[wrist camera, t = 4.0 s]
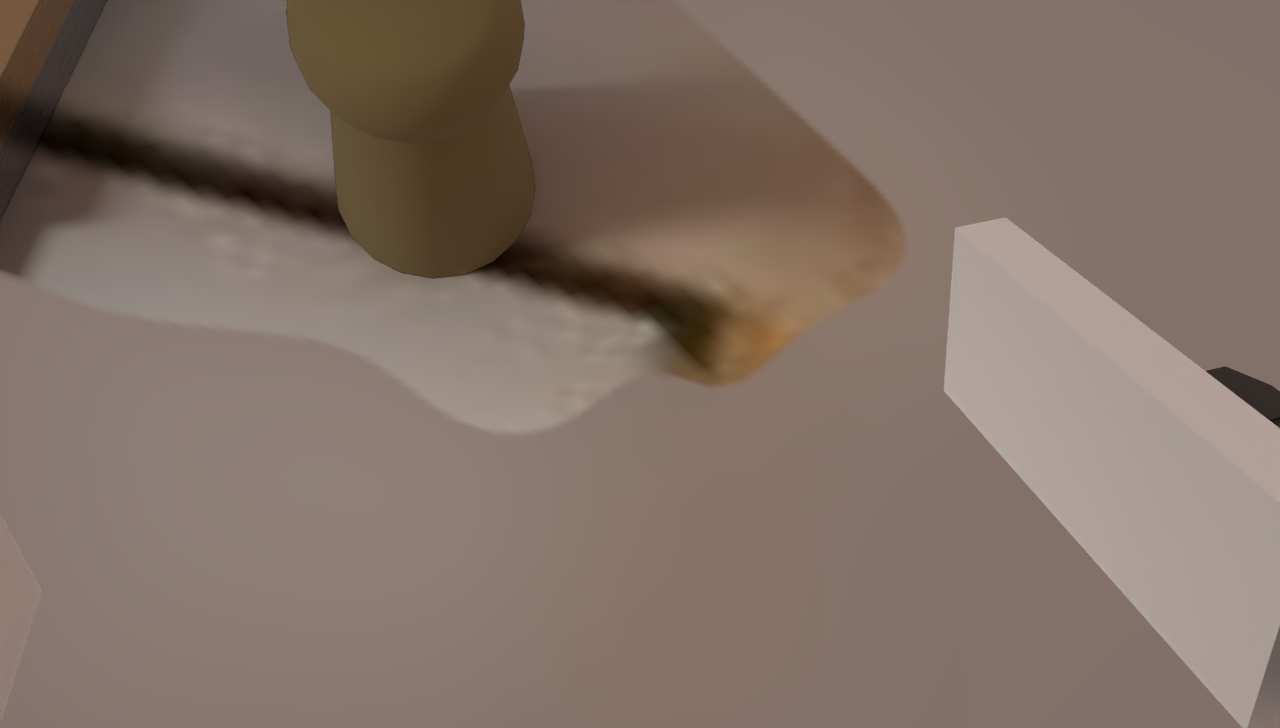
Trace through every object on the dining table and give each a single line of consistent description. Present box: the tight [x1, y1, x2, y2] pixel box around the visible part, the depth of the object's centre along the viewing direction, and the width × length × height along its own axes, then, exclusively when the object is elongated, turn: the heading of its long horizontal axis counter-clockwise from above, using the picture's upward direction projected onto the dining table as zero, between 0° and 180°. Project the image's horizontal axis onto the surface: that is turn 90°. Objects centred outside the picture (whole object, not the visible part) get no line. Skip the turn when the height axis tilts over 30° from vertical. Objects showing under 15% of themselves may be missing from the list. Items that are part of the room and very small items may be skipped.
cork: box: [286, 0, 535, 278], centre depth 28 cm, size 6×6×11 cm
